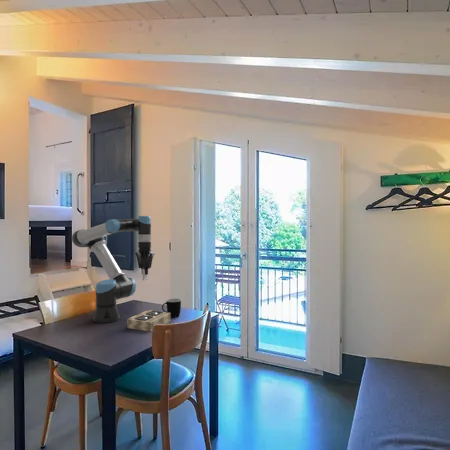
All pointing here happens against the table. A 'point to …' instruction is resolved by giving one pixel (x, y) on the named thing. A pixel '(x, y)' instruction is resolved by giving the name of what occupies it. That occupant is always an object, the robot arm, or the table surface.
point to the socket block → (148, 320)
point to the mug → (173, 307)
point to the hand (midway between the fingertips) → (144, 279)
